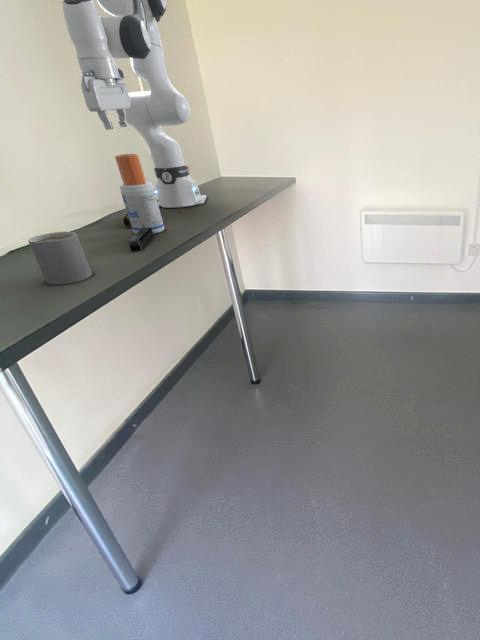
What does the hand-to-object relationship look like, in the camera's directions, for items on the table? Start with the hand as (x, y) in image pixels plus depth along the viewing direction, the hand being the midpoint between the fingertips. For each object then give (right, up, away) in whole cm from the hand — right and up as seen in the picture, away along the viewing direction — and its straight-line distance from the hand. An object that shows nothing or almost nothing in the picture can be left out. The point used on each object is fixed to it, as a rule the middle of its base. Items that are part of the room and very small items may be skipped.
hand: (117, 128), depth 143 cm
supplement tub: (+2, -26, +15) cm, 30 cm away
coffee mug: (+1, -50, -22) cm, 54 cm away
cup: (+1, -13, +7) cm, 15 cm away
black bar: (+6, -33, +3) cm, 34 cm away
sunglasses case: (-8, -17, +30) cm, 35 cm away
